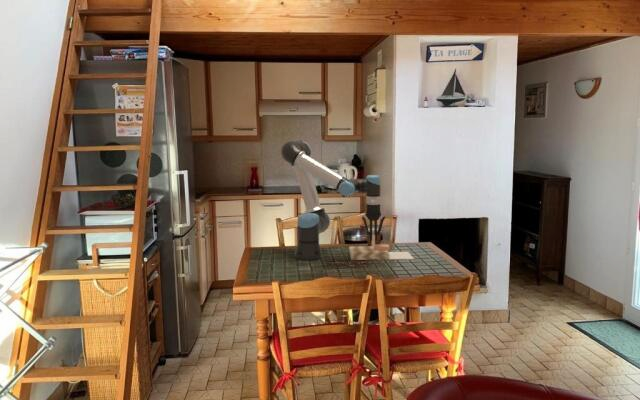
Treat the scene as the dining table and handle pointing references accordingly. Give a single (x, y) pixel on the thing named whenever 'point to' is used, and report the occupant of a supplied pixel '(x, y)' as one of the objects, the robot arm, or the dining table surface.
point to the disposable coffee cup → (377, 237)
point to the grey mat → (400, 256)
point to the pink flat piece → (382, 247)
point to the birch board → (367, 253)
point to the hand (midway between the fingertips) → (373, 246)
